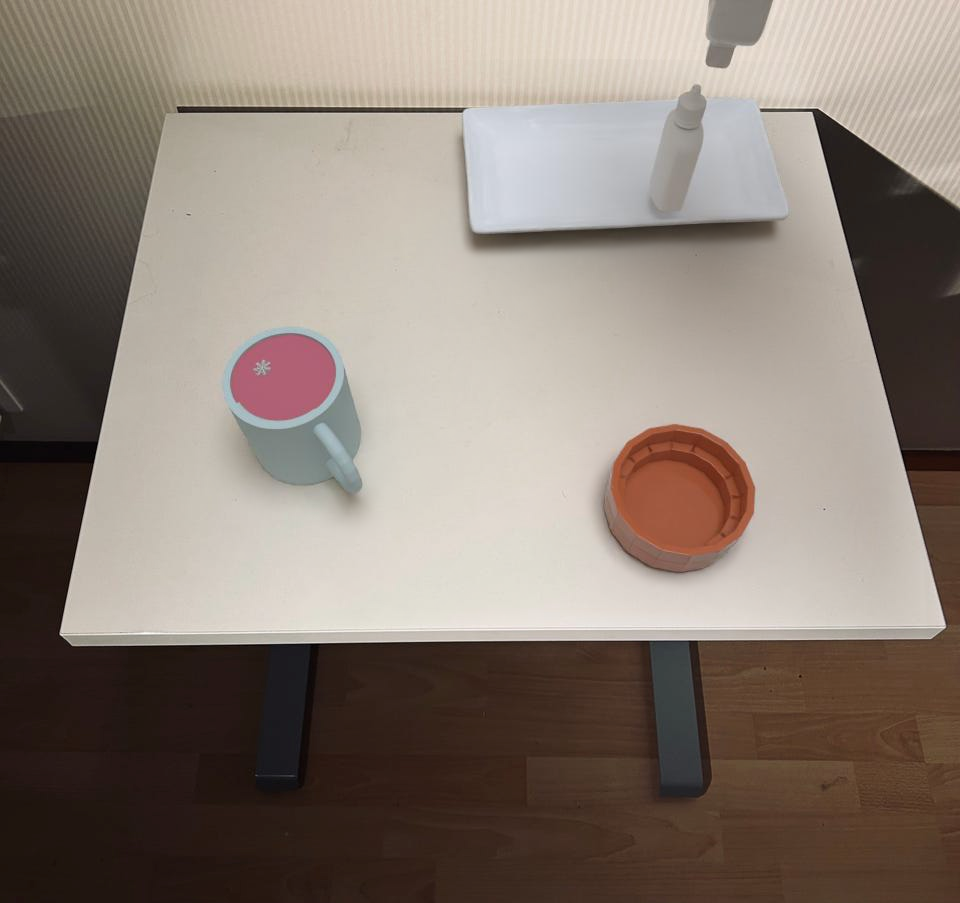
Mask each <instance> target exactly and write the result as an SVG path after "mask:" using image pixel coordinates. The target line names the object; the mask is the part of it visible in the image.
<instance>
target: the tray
mask: <svg viewBox="0 0 960 903" xmlns="http://www.w3.org/2000/svg"><path fill="white" fill-rule="evenodd" d="M705 99H706V101H707V105H706V108H705V111H704V115H703V118H702V121H701V122H702V126H703V132H704V136H703V144H702V148H701V151H700V155H699V158H698V161H697V164H696V168H695V171H694V174H693V177H692V180H691V183H690V187H689V190H688V193H687V196H686V199H685V202H684V205H683V207H682V209H681V210H680V211H661V210H659V209H658V208H657V207H656V205H655V204H654V202H653V200H652V197H651V194H650V179H651V175H652V171H653V167H654V163H655V159H656V155H657V151H658V148H659V144H660V140H661V136H662V132H663V128H664V125H665V121H666V118H667V116H668V114H669V113H670V112H671V111H672V110H674V109H676V107H677V104H678V100H679V98H671V99H669V98H667V99H649V100H647V99H646V100H626V101H625V100H623V101H619V100H618V101H600V102H576V103H575V102H573V103H551V104H550V103H549V104H530V105H529V104H528V105H507V106H506V105H504V106H500V105H499V106H498V105H497V106H477V107H469V108H465V109H464V110H463V111H462V114H461V130H462V139H463V140H462V142H463V148H464V160H465V161H464V163H465V175H466V177H465V178H466V189H467V190H466V191H467V206H468V208H467V209H468V210H467V211H468V221H469V227H470V230H471V231H472V232H473V233H475V234H478V235H479V234H482V235H486V234H487V235H488V234H513V233H515V234H516V233H535V232H536V233H538V232H554V231H578V230H580V231H581V230H602V229H603V230H604V229H625V228H641V227H660V226H676V225H677V226H678V225H680V226H681V225H697V224H699V225H701V224H719V223H721V224H722V223H723V224H724V223H748V222H749V223H751V222H772V221H774V222H775V221H777V222H778V221H784V220H787V218H788V217H789V216H790V206H789V201H788V199H787V196H786V193H785V189H784V186H783V182H782V180H781V176H780V174H779V170H778V166H777V163H776V161H775V160H776V159H775V158H774V154H773V149H772V147H771V143H770V141H769V136H768V133H767V128H766V125H765V121H764V118H763V114H762V112H761V108H760V105H759V104H758V102H757V100H755V99H753V98H745V97H729V96H728V97H705Z"/></svg>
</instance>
